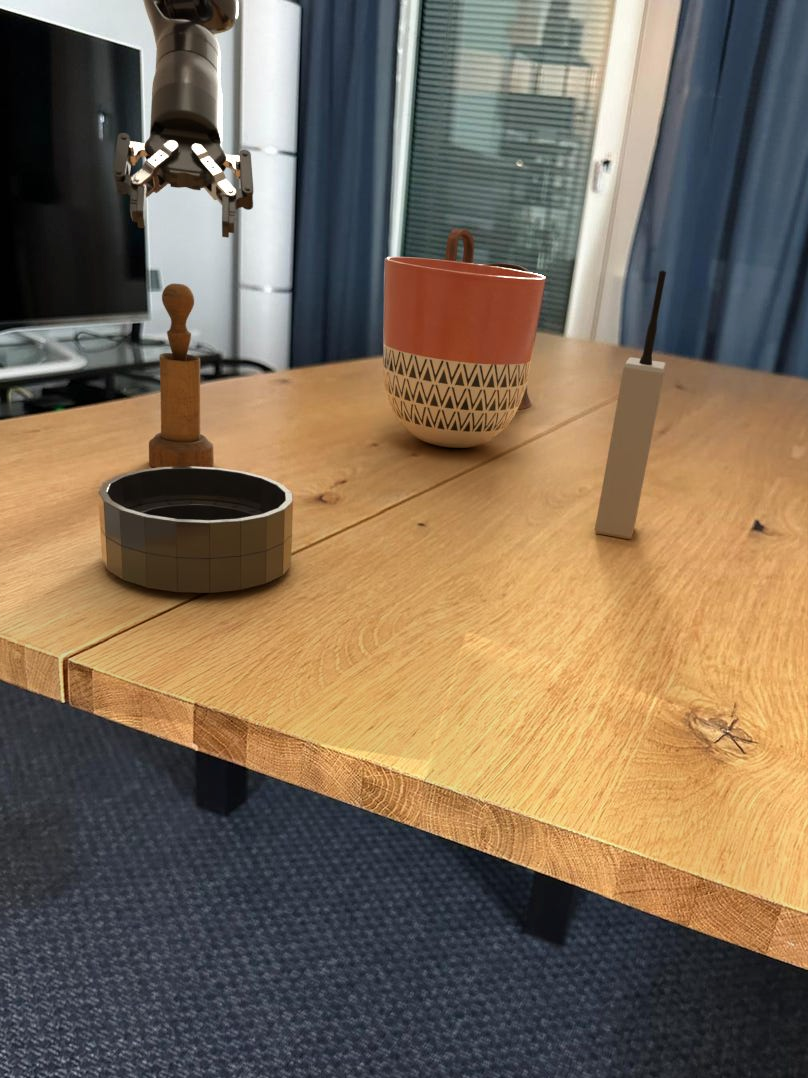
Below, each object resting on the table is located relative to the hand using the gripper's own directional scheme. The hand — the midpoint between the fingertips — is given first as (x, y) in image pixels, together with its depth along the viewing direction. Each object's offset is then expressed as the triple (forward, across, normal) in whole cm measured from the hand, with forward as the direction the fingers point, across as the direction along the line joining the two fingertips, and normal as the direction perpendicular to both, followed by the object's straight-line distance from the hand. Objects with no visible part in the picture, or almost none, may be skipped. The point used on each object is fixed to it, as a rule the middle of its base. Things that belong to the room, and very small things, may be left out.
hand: (183, 227), depth 98 cm
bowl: (+44, +3, -12) cm, 45 cm away
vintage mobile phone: (+35, +43, -3) cm, 56 cm away
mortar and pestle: (+24, 0, +9) cm, 25 cm away
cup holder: (-10, +42, +42) cm, 60 cm away
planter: (+12, +32, +20) cm, 40 cm away
